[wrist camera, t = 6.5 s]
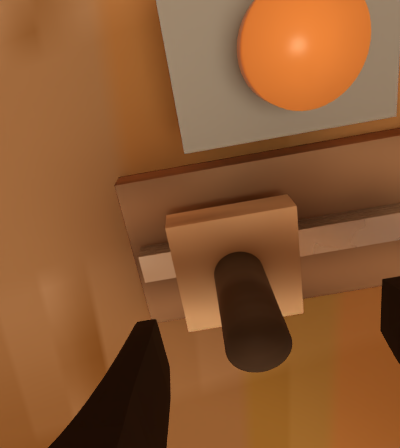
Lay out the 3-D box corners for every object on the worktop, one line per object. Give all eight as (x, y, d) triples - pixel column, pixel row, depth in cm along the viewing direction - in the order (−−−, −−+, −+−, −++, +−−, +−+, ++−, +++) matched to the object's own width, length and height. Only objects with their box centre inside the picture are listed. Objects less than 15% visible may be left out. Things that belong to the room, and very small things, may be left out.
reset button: (337, 93, 13) (369, 99, 11) (238, 111, 13) (250, 120, 11) (335, -25, 12) (373, -47, 9) (224, -4, 12) (235, -20, 9)
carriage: (288, 283, 21) (342, 393, 14) (187, 300, 21) (190, 417, 14) (281, 186, 19) (341, 260, 12) (167, 206, 19) (158, 291, 12)
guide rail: (515, 208, 20) (534, 217, 19) (147, 271, 21) (145, 282, 20) (521, 181, 20) (541, 188, 19) (140, 247, 20) (138, 257, 19)
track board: (493, 252, 23) (512, 264, 22) (154, 308, 24) (152, 323, 22) (520, 106, 20) (545, 109, 18) (119, 177, 20) (114, 185, 19)
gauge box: (334, 101, 19) (396, 116, 14) (183, 128, 19) (184, 154, 14) (332, -50, 16) (407, -107, 11) (157, -17, 17) (145, -57, 11)
